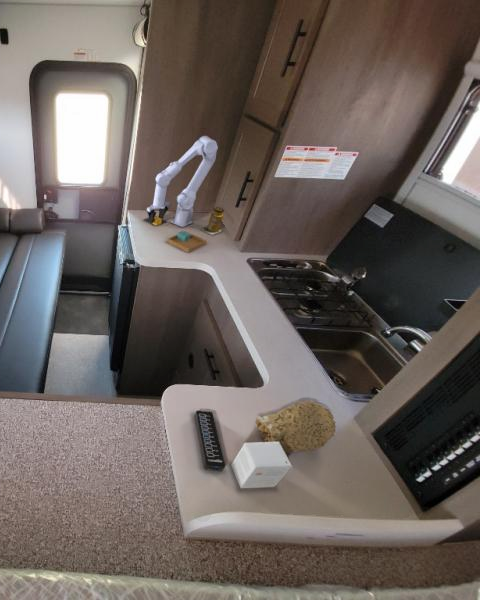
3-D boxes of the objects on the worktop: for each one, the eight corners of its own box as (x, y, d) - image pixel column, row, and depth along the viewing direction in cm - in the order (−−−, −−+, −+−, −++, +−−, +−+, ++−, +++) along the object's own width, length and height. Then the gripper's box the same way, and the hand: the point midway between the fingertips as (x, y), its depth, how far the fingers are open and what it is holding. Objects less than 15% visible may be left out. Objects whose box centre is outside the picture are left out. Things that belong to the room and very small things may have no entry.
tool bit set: (210, 416, 88) (213, 411, 87) (223, 471, 77) (225, 467, 76) (194, 414, 89) (196, 410, 87) (203, 469, 77) (206, 464, 76)
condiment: (222, 230, 176) (228, 209, 168) (212, 235, 172) (218, 213, 165) (210, 226, 181) (216, 205, 173) (201, 230, 177) (206, 208, 169)
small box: (262, 463, 79) (279, 440, 72) (274, 488, 74) (293, 466, 68) (230, 464, 78) (244, 441, 72) (239, 489, 74) (255, 467, 67)
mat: (154, 216, 190) (154, 215, 190) (166, 221, 184) (166, 221, 184) (143, 220, 185) (143, 219, 185) (155, 226, 180) (155, 225, 180)
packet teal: (181, 236, 170) (182, 230, 168) (189, 239, 167) (190, 234, 165) (176, 238, 168) (177, 233, 166) (184, 242, 165) (185, 236, 163)
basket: (184, 234, 172) (185, 231, 171) (205, 243, 164) (206, 240, 163) (166, 242, 165) (167, 238, 164) (188, 252, 157) (189, 249, 156)
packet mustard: (154, 220, 184) (155, 215, 183) (161, 223, 181) (162, 218, 179) (149, 222, 183) (150, 217, 181) (156, 225, 179) (156, 220, 178)
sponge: (271, 464, 80) (356, 451, 78) (273, 443, 76) (362, 428, 75) (245, 422, 91) (319, 409, 90) (246, 401, 88) (322, 388, 86)
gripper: (155, 202, 167) (151, 226, 175) (174, 196, 173) (170, 220, 182) (145, 198, 171) (142, 222, 180) (165, 192, 178) (161, 216, 186)
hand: (155, 221), depth 181 cm, fingers open, 6 cm apart
